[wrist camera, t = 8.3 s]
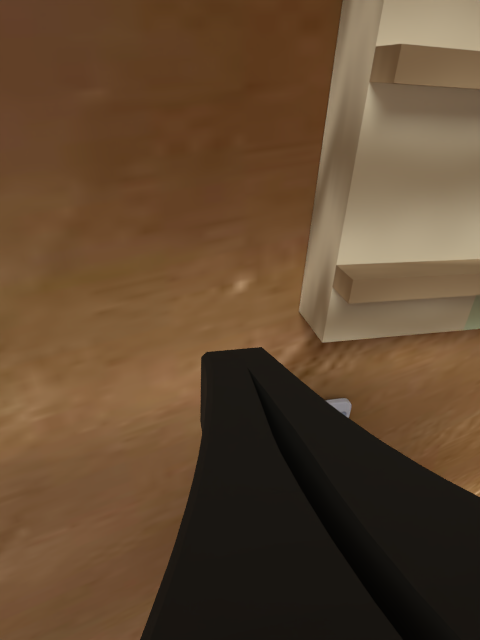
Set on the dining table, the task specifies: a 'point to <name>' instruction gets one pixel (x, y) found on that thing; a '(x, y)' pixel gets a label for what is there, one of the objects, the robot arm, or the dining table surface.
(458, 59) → the railed deck
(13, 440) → the dining table surface
